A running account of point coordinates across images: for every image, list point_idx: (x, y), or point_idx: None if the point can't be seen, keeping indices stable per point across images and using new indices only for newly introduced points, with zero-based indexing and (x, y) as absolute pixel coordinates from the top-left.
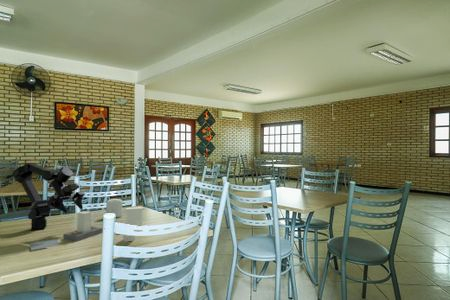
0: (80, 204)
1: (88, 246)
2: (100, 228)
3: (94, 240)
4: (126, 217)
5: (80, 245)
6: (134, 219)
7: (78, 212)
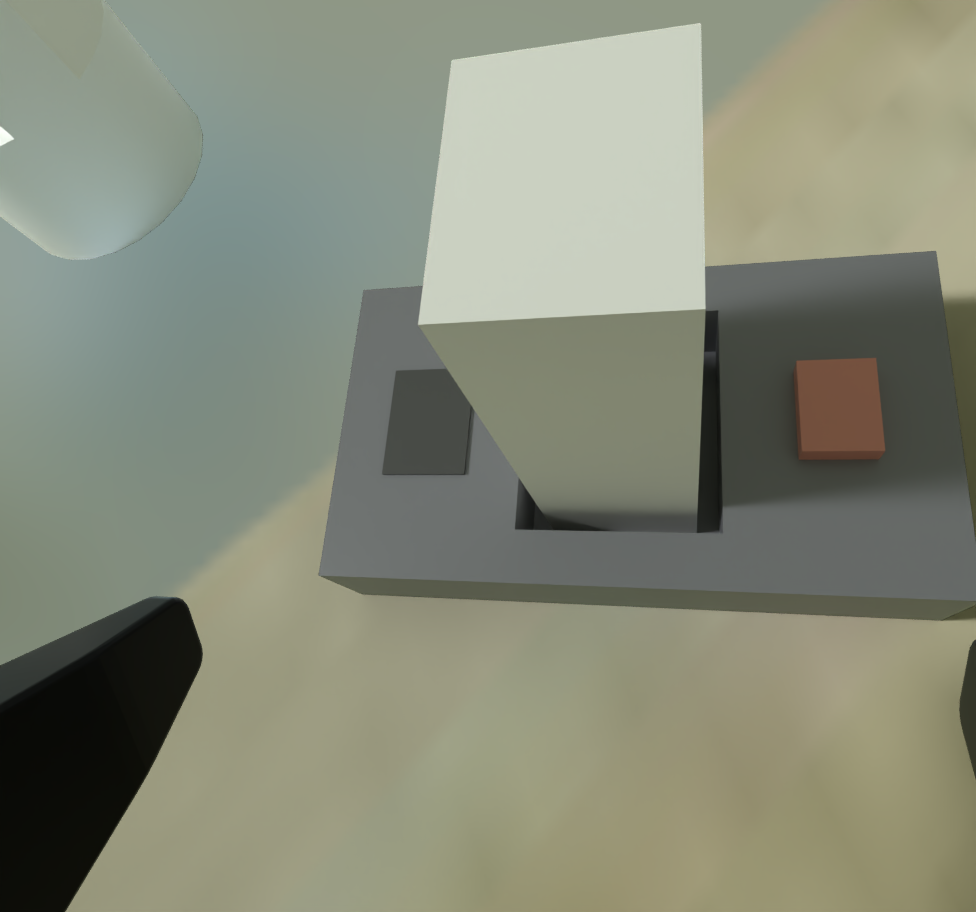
0: (15, 715)
1: (926, 57)
2: (391, 300)
3: None
4: (36, 72)
5: (962, 164)
6: (47, 21)
7: (661, 305)
